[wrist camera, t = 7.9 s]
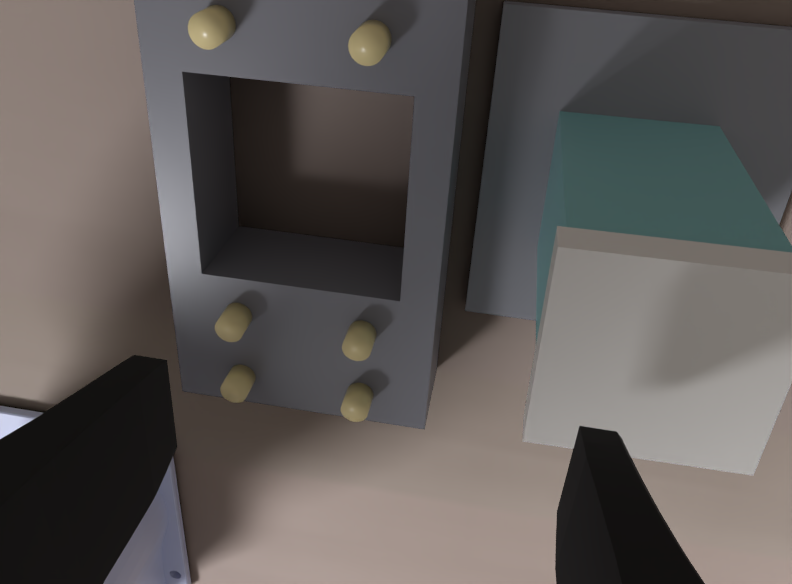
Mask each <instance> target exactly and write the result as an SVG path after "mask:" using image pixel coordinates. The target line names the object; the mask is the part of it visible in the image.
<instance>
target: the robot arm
mask: <svg viewBox="0 0 792 584" xmlns="http://www.w3.org/2000/svg"><path fill="white" fill-rule="evenodd" d="M176 448H177V442H176V433H175V425H174V417H173V408H172V400H171V391H170V383H169V374H168V366H167V360H162V359H156V358H149V357H143V356H137V355H134V356H132V357H130V358H129V359H127V360H125V361H124V362H122V363H120V364H119V365H117V366H116V367H114V368H113V369H111V370H110V371H108V372H106V373H105V374H103V375H102V376H100V377H99V378H97V379H96V380H94V381H93V382H91V383H90V384H88V385H87V386H85V387H84V388H82V389H80V390H79V391H77V392H76V393H74V394H73V395H71V396H70V397H68V398H67V399H65V400H63V401H62V402H60V403H59V404H57V405H56V406H54V407H52V408H51V409H49V410H48V411H46V412H45V413H42V412H36V411H30V410H24V409H18V408H12V407H6V406H0V584H191V578H190V571H189V564H188V557H187V550H186V543H185V535H184V528H183V521H182V514H181V507H180V500H179V493H178V486H177V479H176V472H175V465H174V458H173V455H174V453H175V450H176ZM555 569H556V582H557V584H705V583H704V582H703V580H702V579H701V577H700V576H699V574H698V573H697V571H696V570H695V568H694V567H693V565H692V564H691V562H690V561H689V559H688V558H687V556H686V555H685V553H684V551H683V550H682V548H681V547H680V545H679V543H678V542H677V540H676V538H675V537H674V535H673V533H672V532H671V530H670V528H669V527H668V525H667V523H666V522H665V520H664V518H663V516H662V515H661V513H660V511H659V510H658V508H657V506H656V504H655V502H654V501H653V499H652V497H651V495H650V493H649V491H648V490H647V488H646V486H645V484H644V482H643V480H642V478H641V476H640V474H639V472H638V471H637V469H636V467H635V465H634V463H633V461H632V459H631V456H630V454H629V452H628V450H627V448H626V446H625V444H624V442H623V440H622V438H621V436H620V435H619V434H618V432H616V431H610V430H604V429H597V428H591V427H585V426H579V430H578V433H577V437H576V441H575V445H574V449H573V453H572V456H571V460H570V464H569V468H568V472H567V476H566V479H565V483H564V487H563V491H562V495H561V498H560V502H559V506H558V510H557V529H556V567H555Z"/></svg>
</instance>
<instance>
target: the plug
mask: <svg viewBox="0 0 792 584" xmlns="http://www.w3.org/2000/svg"><path fill="white" fill-rule="evenodd" d="M791 383H792V246H791V244H790V242H789V241H788V239H787V237H786V236H785V234H784V232H783V231H782V229H781V227H780V226H779V224H778V222H777V221H776V219H775V217H774V216H773V214H772V212H771V211H770V209H769V207H768V206H767V204H766V202H765V201H764V199H763V197H762V196H761V194H760V192H759V191H758V189H757V187H756V186H755V184H754V182H753V181H752V179H751V178H750V176H749V174H748V173H747V171H746V169H745V168H744V166H743V164H742V163H741V161H740V159H739V158H738V156H737V154H736V153H735V151H734V149H733V148H732V146H731V144H730V143H729V141H728V139H727V138H726V136H725V134H724V133H723V131H722V129H721V128H720V126H711V125H701V124H690V123H680V122H669V121H659V120H648V119H638V118H627V117H617V116H606V115H596V114H585V113H575V112H564V111H560V112H559V118H558V124H557V130H556V136H555V142H554V148H553V154H552V160H551V167H550V173H549V179H548V185H547V191H546V197H545V203H544V209H543V215H542V221H541V228H540V234H539V240H538V246H537V298H536V348H535V354H534V359H533V365H532V371H531V376H530V382H529V388H528V393H527V399H526V405H525V410H524V419H523V442H530V443H537V444H543V445H550V446H557V447H564V448H570V449H574V445H575V441H576V437H577V433H578V430H579V426H585V427H591V428H597V429H604V430H610V431H616V432H618V434H619V435H620V436H621V438H622V440H623V442H624V444H625V446H626V448H627V450H628V452H629V454H630V456H631V458H638V459H645V460H651V461H658V462H665V463H672V464H678V465H685V466H692V467H699V468H705V469H712V470H719V471H726V472H732V473H739V474H746V475H752V476H753V475H754V472H755V470H756V467H757V465H758V463H759V460H760V458H761V455H762V453H763V451H764V448H765V446H766V443H767V441H768V439H769V436H770V434H771V431H772V429H773V427H774V424H775V422H776V419H777V417H778V414H779V412H780V410H781V407H782V405H783V402H784V400H785V398H786V395H787V393H788V390H789V388H790V386H791Z"/></svg>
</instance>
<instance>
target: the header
mask: <svg viewBox="0 0 792 584" xmlns="http://www.w3.org/2000/svg"><path fill="white" fill-rule="evenodd" d="M134 5H135V13H136V21H137V29H138V37H139V45H140V53H141V61H142V69H143V77H144V85H145V93H146V101H147V109H148V117H149V125H150V133H151V141H152V149H153V157H154V165H155V173H156V181H157V189H158V197H159V205H160V214H161V222H162V230H163V238H164V246H165V254H166V262H167V270H168V278H169V286H170V294H171V302H172V310H173V318H174V326H175V334H176V342H177V350H178V358H179V366H180V374H181V382H182V390H183V391H184V392H191V393H197V394H203V395H210V396H216V397H222V398H225V399H226V400H228V401H230V402H233V403H240V402H243V401H248V402H254V403H260V404H267V405H273V406H279V407H286V408H292V409H298V410H305V411H311V412H317V413H324V414H330V415H336V416H343V417H345V418H346V419H348V420H350V421H353V422H360V421H363V420H368V421H374V422H381V423H387V424H393V425H400V426H406V427H412V428H419V429H425V425H426V420H427V415H428V410H429V405H430V400H431V395H432V390H433V385H434V380H435V375H436V370H437V362H438V352H439V343H440V333H441V324H442V315H443V305H444V296H445V287H446V277H447V268H448V258H449V249H450V240H451V230H452V221H453V212H454V202H455V193H456V184H457V174H458V165H459V155H460V146H461V137H462V127H463V118H464V109H465V99H466V90H467V80H468V71H469V62H470V52H471V43H472V34H473V24H474V15H475V6H476V0H134ZM229 77H237V78H247V79H256V80H265V81H275V82H284V83H293V84H303V85H312V86H321V87H331V88H340V89H349V90H359V91H368V92H377V93H387V94H396V95H406V96H414V111H413V125H412V140H411V154H410V168H409V183H408V197H407V211H406V226H405V240H404V248H403V247H395V246H387V245H380V244H372V243H364V242H357V241H349V240H341V239H334V238H326V237H318V236H311V235H303V234H295V233H288V232H280V231H272V230H265V229H257V228H249V227H242V226H239V221H238V205H237V190H236V174H235V158H234V142H233V126H232V111H231V95H230V79H229Z"/></svg>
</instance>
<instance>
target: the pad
mask: <svg viewBox="0 0 792 584" xmlns="http://www.w3.org/2000/svg"><path fill="white" fill-rule="evenodd" d="M560 111H564V112H575V113H585V114H596V115H606V116H617V117H627V118H638V119H648V120H659V121H669V122H680V123H690V124H701V125H711V126H720V128H721V129H722V131H723V133H724V134H725V136H726V138H727V139H728V141H729V143H730V144H731V146H732V148H733V149H734V151H735V153H736V154H737V156H738V158H739V159H740V161H741V163H742V164H743V166H744V168H745V169H746V171H747V173H748V174H749V176H750V178H751V179H752V181H753V182H754V184H755V186H756V187H757V189H758V191H759V192H760V194H761V196H762V197H763V199H764V201H765V202H766V204H767V206H768V207H769V209H770V211H771V212H772V214H773V216H774V217H775V219H776V221H777V222H778V224H780V221H781V219H782V216H783V213H784V210H785V208H786V205H787V202H788V199H789V197H790V194H791V191H792V27H788V26H777V25H766V24H755V23H744V22H733V21H722V20H711V19H700V18H689V17H678V16H667V15H656V14H645V13H634V12H623V11H612V10H601V9H590V8H579V7H568V6H557V5H546V4H535V3H524V2H514V1H504V5H503V13H502V21H501V29H500V37H499V45H498V52H497V60H496V68H495V76H494V84H493V92H492V100H491V108H490V116H489V124H488V132H487V140H486V148H485V156H484V164H483V172H482V180H481V188H480V196H479V204H478V212H477V220H476V228H475V235H474V243H473V251H472V259H471V267H470V275H469V283H468V291H467V299H466V307H465V311H470V312H477V313H485V314H492V315H499V316H506V317H513V318H521V319H528V320H535V321H536V298H537V246H538V240H539V234H540V228H541V221H542V215H543V209H544V203H545V197H546V191H547V185H548V179H549V173H550V167H551V160H552V154H553V148H554V142H555V136H556V130H557V124H558V118H559V112H560Z"/></svg>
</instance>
